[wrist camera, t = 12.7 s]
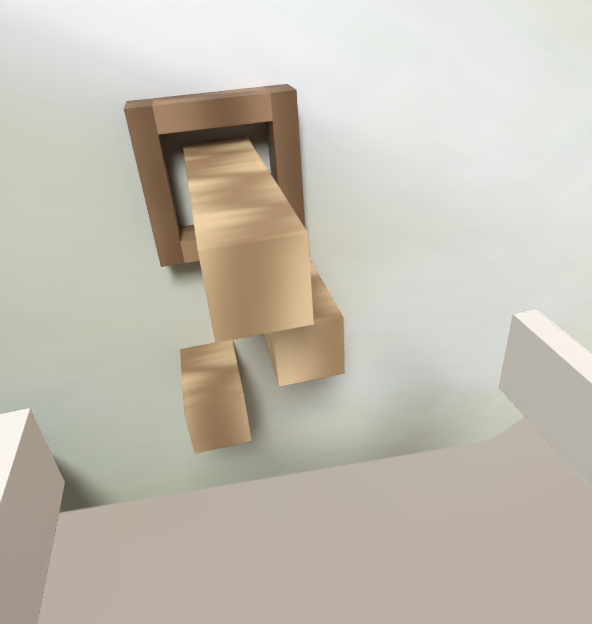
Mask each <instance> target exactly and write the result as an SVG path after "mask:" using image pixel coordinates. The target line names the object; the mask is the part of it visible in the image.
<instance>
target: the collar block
mask: <svg viewBox="0 0 592 624" xmlns="http://www.w3.org/2000/svg"><path fill="white" fill-rule="evenodd" d="M124 112H125V116H126V120H127V124H128V129H129V133H130V137H131V141H132V146H133V150H134V154H135V158H136V163H137V167H138V171H139V175H140V180H141V184H142V188H143V192H144V197H145V201H146V205H147V209H148V214H149V218H150V222H151V226H152V231H153V235H154V239H155V243H156V248H157V252H158V256H159V261H160V265H161V267H164V266H170V265H176V264H183V263H189V262H195V261H200V260H199V255H198V249H197V242H196V235H195V228H194V225H189V226H182V227H179V223H178V219H177V214H176V209H175V204H174V199H173V194H172V189H171V184H170V179H169V174H168V170H167V165H166V160H165V155H164V150H163V145H162V140H161V135H160V134H166V133H175V132H183V131H191V130H200V129H208V128H217V127H225V126H234V125H242V124H251V123H259V122H266V125H267V135H268V146H269V156H270V167H271V175H272V177H273V178H274V180H275V182H276V183H277V185H278V186H279V188H280V189H281V191H282V193H283V194H284V196H285V197H286V199H287V201H288V202H289V204H290V205H291V207H292V208H293V210H294V212H295V213H296V215H297V216H298V218H299V219H300V221H301V223H302V224H303V226H304V227H305V221H304V205H303V189H302V173H301V156H300V140H299V124H298V108H297V92H296V89H294V88H293V87H291V86H289V85H288V84H284V85H274V86H265V87H256V88H246V89H237V90H228V91H219V92H209V93H200V94H191V95H181V96H172V97H163V98H154V99H144V100H135V101H127V102H126V104H125V107H124Z"/></svg>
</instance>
